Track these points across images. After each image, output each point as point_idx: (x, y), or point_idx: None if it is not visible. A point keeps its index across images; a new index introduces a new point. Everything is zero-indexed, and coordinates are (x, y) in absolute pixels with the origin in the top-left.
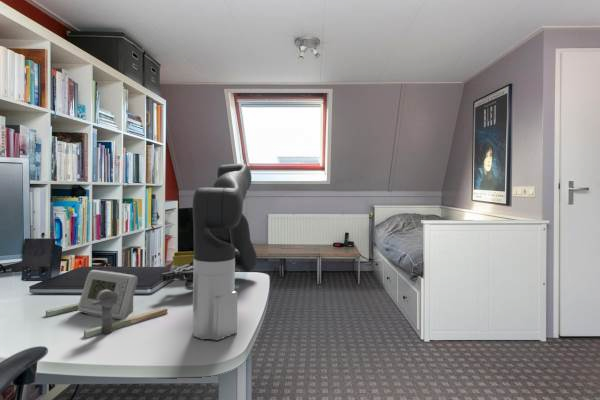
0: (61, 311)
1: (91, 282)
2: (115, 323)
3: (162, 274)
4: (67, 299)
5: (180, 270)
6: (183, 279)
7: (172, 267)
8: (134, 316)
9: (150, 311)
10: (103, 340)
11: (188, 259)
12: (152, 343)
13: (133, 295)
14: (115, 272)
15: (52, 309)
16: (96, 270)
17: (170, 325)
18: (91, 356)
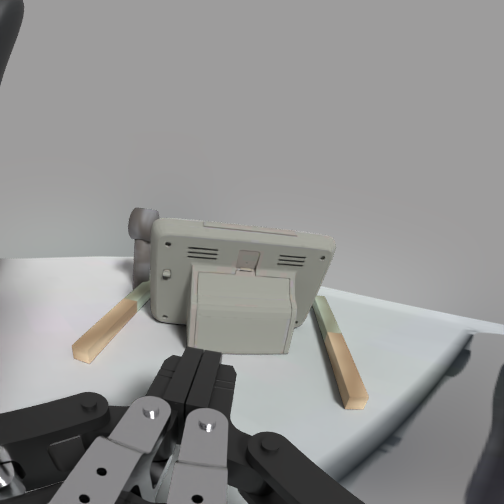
0: (315, 309)
1: (296, 257)
2: (139, 287)
3: (199, 349)
4: (416, 345)
5: (136, 447)
6: (79, 440)
7: (347, 501)
8: (128, 307)
9: (110, 328)
10: (124, 277)
11: None
12: (45, 277)
13: (151, 273)
14: (243, 225)
15: (324, 300)
16: (312, 233)
17: (37, 313)
18: (106, 260)
